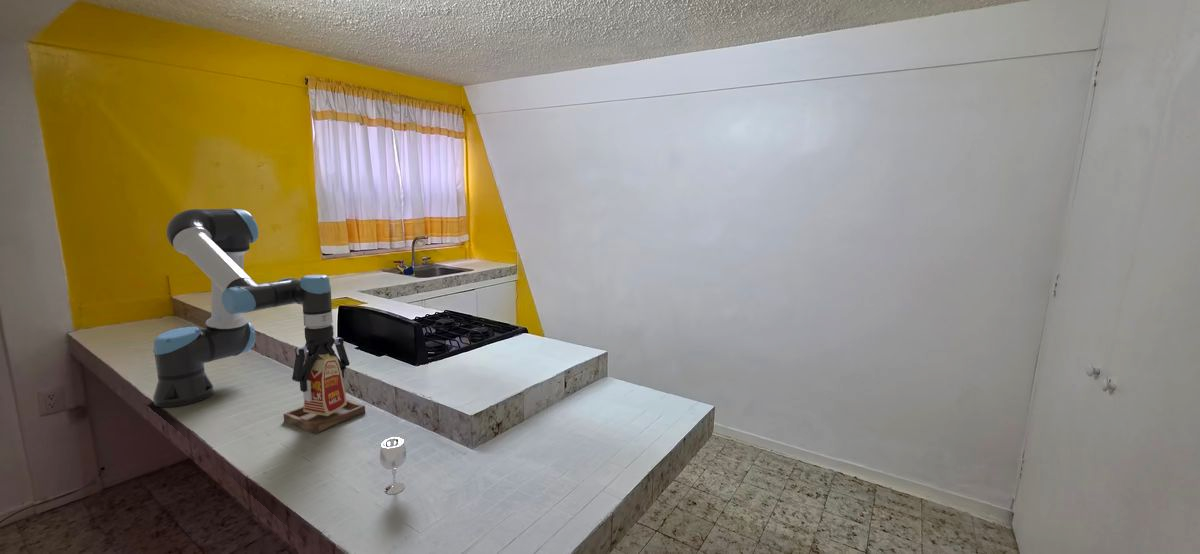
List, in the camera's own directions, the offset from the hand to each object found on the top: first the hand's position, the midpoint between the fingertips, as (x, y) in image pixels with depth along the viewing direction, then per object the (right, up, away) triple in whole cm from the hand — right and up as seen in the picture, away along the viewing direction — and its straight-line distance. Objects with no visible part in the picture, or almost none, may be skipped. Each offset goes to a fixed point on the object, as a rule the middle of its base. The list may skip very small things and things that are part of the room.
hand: (324, 394), depth 143 cm
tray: (0, -7, +1) cm, 8 cm away
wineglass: (+37, -14, -33) cm, 52 cm away
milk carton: (0, -5, +1) cm, 5 cm away
